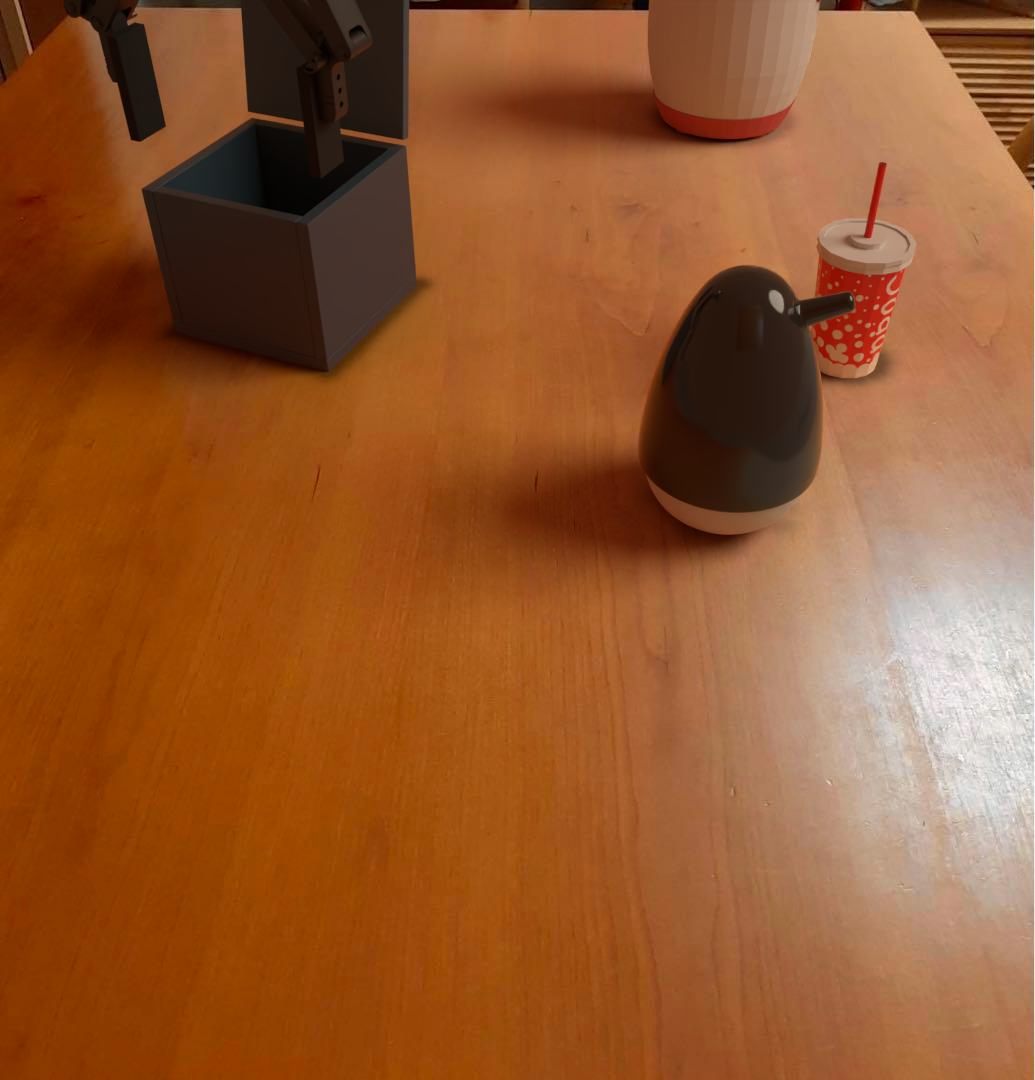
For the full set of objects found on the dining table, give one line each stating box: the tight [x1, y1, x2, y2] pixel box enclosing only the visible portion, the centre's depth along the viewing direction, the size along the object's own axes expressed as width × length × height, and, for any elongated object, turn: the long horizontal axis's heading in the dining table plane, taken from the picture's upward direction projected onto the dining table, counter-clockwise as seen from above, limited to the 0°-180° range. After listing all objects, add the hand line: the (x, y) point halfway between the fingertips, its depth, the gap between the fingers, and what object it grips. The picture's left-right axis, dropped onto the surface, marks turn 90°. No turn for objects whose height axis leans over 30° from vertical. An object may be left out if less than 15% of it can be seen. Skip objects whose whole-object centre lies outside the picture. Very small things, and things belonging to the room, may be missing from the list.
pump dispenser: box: [637, 264, 855, 536], centre depth 63 cm, size 10×10×15 cm
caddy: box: [141, 117, 418, 373], centre depth 82 cm, size 13×13×11 cm
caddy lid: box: [240, 0, 410, 141], centre depth 79 cm, size 14×13×1 cm
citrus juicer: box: [647, 0, 822, 140], centre depth 104 cm, size 16×17×20 cm
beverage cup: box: [810, 161, 918, 379], centre depth 75 cm, size 6×6×14 cm
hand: (235, 151), depth 74 cm, fingers open, 13 cm apart
